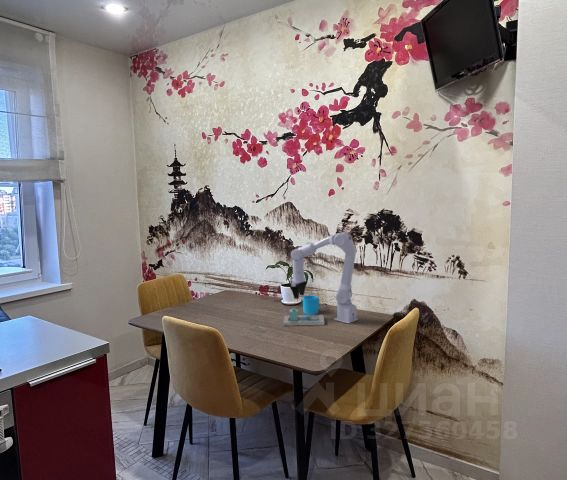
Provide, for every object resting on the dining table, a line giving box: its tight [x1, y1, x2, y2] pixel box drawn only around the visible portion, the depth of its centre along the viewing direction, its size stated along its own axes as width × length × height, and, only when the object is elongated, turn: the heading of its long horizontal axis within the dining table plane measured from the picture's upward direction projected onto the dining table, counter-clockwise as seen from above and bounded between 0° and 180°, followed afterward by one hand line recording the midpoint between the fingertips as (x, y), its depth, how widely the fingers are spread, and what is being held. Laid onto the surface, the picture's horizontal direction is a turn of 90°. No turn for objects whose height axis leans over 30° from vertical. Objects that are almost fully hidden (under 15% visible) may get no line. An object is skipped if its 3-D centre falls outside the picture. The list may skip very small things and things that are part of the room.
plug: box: [289, 307, 299, 321], centre depth 200 cm, size 4×4×7 cm
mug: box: [302, 294, 320, 315], centre depth 217 cm, size 12×8×8 cm
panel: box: [283, 314, 325, 327], centre depth 200 cm, size 20×11×2 cm, turn 87°
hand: (299, 296), depth 210 cm, fingers open, 7 cm apart
